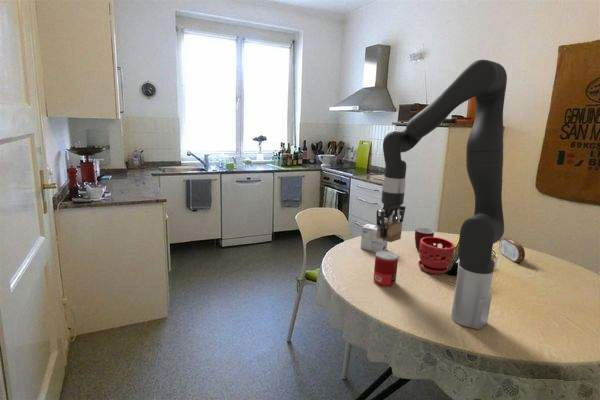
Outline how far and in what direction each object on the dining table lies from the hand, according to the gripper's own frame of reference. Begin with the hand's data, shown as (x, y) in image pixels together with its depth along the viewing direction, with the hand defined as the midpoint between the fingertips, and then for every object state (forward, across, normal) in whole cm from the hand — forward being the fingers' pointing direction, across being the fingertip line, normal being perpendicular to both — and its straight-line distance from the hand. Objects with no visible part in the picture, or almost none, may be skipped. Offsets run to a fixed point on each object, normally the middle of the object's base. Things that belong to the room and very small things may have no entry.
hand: (388, 235), depth 127 cm
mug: (+18, +41, +10) cm, 46 cm away
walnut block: (+1, 0, 0) cm, 1 cm away
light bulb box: (+18, +24, +24) cm, 39 cm away
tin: (+18, +66, -19) cm, 71 cm away
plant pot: (+18, +26, -5) cm, 32 cm away
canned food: (+18, 0, 0) cm, 18 cm away
